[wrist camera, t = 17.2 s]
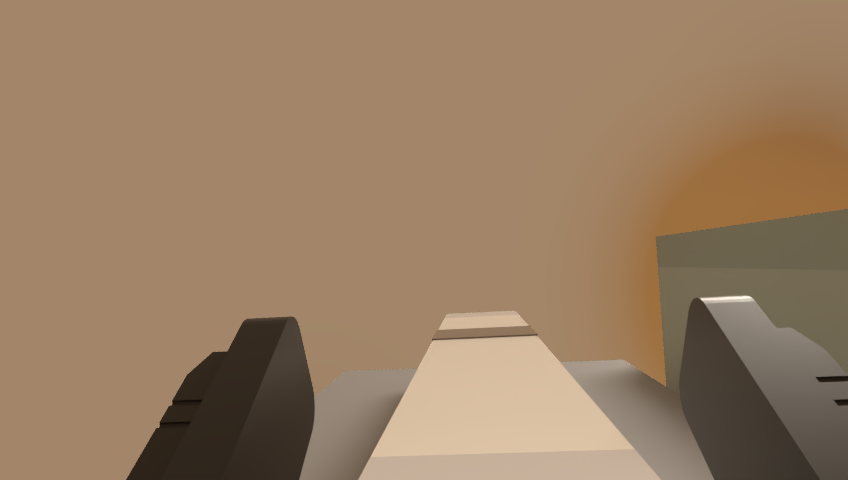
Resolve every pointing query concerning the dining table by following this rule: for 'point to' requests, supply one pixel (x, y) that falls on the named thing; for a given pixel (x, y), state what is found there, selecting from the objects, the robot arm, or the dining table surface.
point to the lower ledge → (602, 380)
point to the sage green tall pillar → (760, 278)
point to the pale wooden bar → (498, 413)
